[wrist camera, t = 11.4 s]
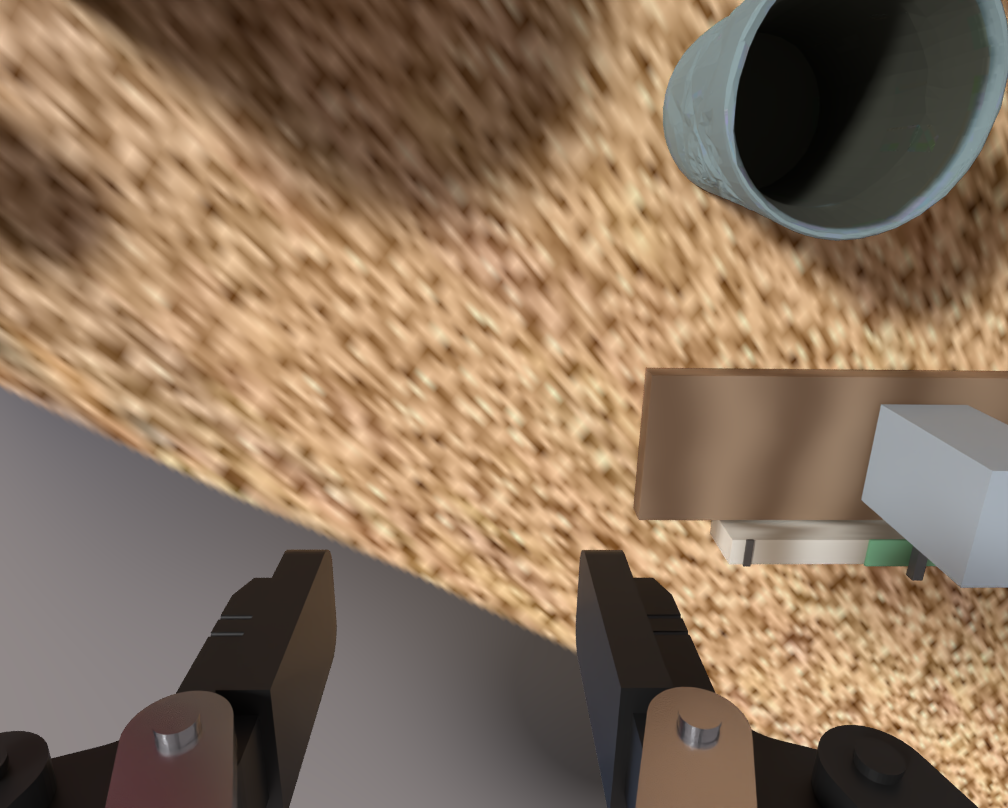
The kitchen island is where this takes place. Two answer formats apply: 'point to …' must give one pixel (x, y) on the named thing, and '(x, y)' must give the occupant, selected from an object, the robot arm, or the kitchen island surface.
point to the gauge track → (784, 455)
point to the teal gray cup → (838, 108)
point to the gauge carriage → (944, 489)
